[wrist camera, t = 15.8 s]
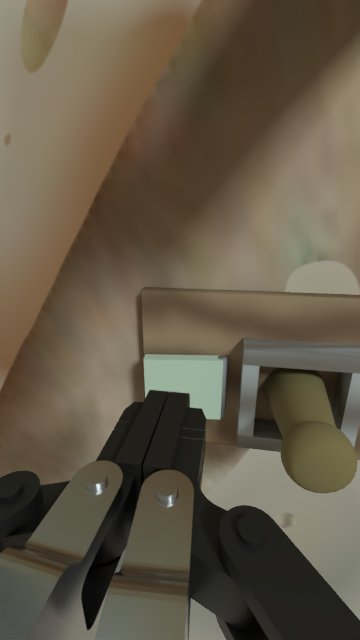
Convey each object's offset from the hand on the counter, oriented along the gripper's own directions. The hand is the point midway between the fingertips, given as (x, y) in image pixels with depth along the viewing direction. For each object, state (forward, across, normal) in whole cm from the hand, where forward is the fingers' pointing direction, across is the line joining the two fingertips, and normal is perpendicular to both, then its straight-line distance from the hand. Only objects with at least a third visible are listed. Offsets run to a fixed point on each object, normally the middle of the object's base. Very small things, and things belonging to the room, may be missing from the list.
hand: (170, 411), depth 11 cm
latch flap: (+18, +2, +10) cm, 21 cm away
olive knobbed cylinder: (+19, -9, +10) cm, 24 cm away
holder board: (+21, -6, +9) cm, 23 cm away
